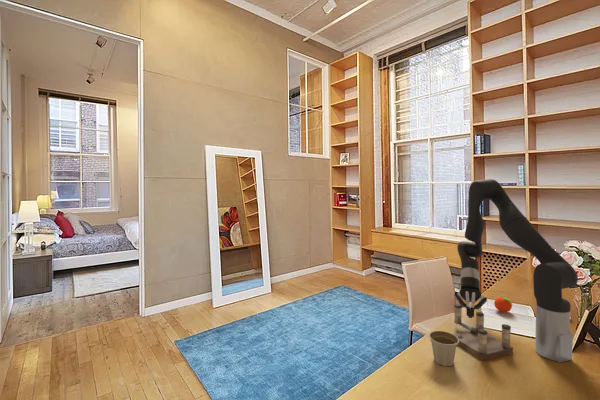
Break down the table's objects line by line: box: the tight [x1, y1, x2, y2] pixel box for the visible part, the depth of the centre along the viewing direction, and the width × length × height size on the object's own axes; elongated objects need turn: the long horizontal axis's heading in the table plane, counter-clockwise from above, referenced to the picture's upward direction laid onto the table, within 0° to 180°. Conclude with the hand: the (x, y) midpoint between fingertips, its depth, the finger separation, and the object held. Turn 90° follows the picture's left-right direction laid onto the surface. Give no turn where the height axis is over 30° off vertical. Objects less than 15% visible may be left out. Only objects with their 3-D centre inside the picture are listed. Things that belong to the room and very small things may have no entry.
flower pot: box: [428, 330, 459, 367], centre depth 104 cm, size 9×9×9 cm
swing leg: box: [454, 303, 477, 333], centre depth 123 cm, size 10×3×8 cm, turn 17°
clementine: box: [493, 296, 513, 313], centre depth 141 cm, size 8×7×7 cm
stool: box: [453, 311, 514, 361], centre depth 113 cm, size 14×14×10 cm
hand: (470, 317), depth 126 cm, fingers closed
